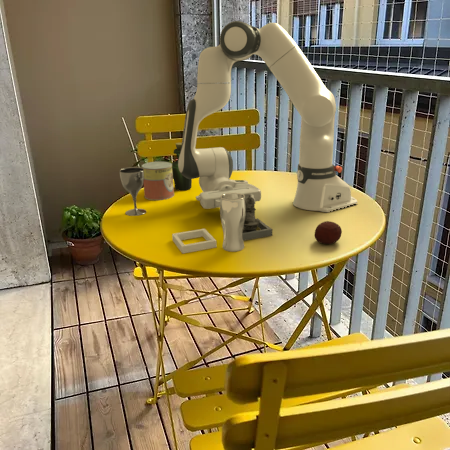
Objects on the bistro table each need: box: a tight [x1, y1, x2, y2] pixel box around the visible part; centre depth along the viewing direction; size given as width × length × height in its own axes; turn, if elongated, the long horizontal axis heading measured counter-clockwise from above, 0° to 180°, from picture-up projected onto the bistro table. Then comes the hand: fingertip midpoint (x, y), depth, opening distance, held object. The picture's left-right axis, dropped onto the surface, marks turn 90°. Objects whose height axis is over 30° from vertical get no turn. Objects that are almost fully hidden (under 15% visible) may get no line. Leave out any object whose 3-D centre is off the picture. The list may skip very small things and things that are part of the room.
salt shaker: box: [243, 195, 260, 233], centre depth 135 cm, size 6×6×12 cm
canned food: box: [141, 160, 175, 201], centre depth 171 cm, size 11×11×12 cm
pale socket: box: [171, 228, 218, 254], centre depth 130 cm, size 10×10×2 cm
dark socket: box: [243, 218, 273, 242], centre depth 136 cm, size 10×10×2 cm
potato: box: [314, 220, 343, 245], centre depth 128 cm, size 7×8×6 cm
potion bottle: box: [172, 142, 193, 192], centre depth 178 cm, size 8×8×18 cm
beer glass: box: [219, 193, 246, 253], centre depth 124 cm, size 7×7×15 cm
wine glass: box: [119, 166, 147, 217], centre depth 153 cm, size 8×8×15 cm
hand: (239, 204), depth 141 cm, fingers open, 8 cm apart
